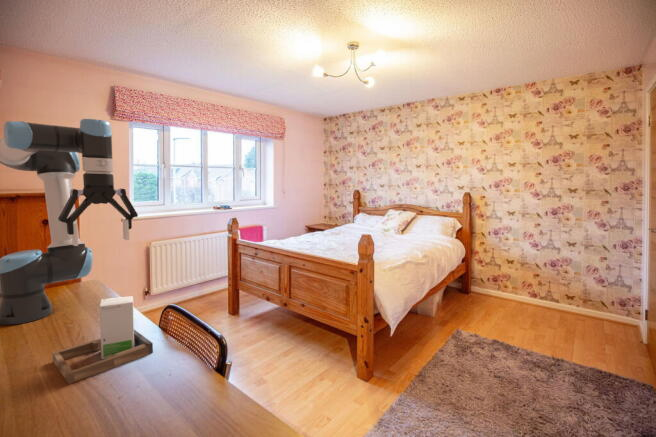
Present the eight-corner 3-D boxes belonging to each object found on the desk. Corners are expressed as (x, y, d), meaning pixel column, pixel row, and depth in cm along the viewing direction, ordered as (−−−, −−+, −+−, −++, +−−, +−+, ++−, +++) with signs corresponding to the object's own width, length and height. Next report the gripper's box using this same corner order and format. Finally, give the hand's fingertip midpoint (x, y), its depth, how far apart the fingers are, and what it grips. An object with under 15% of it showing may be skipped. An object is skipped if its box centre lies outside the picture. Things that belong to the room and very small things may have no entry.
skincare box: (101, 360, 93) (97, 306, 91) (102, 349, 99) (99, 299, 97) (135, 353, 97) (133, 301, 95) (135, 343, 103) (132, 294, 101)
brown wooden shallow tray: (52, 361, 92) (52, 351, 92) (131, 336, 107) (131, 327, 107) (68, 384, 82) (67, 372, 82) (152, 352, 98) (152, 342, 97)
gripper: (48, 171, 88) (53, 250, 91) (147, 174, 108) (149, 238, 110) (41, 171, 93) (47, 245, 96) (137, 173, 112) (140, 235, 115)
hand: (102, 242), depth 103 cm, fingers open, 13 cm apart
